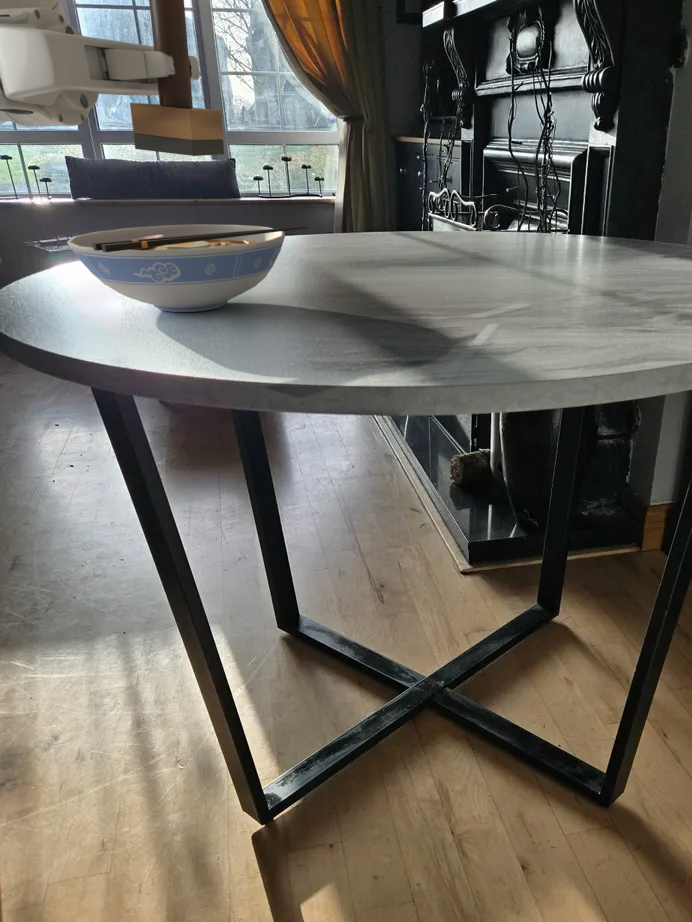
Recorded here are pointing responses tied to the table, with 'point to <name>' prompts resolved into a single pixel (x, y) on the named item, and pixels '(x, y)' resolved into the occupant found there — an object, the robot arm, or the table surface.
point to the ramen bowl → (181, 262)
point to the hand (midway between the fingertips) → (182, 66)
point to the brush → (175, 96)
